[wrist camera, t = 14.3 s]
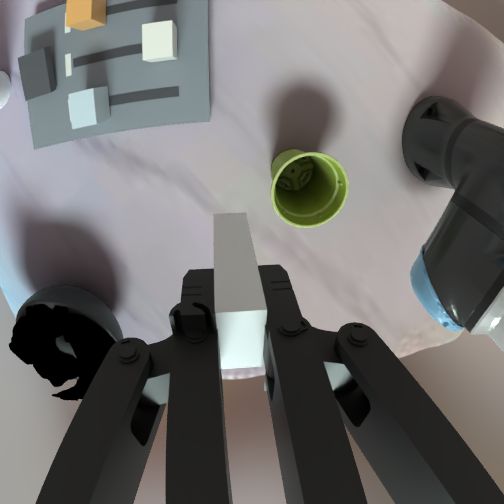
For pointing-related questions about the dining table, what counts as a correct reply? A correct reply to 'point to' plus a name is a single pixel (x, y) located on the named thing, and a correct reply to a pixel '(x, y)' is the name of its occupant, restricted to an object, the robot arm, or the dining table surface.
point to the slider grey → (89, 107)
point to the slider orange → (85, 14)
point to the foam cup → (4, 88)
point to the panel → (121, 69)
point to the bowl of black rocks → (65, 336)
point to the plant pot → (307, 187)
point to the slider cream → (159, 41)
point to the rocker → (37, 73)
